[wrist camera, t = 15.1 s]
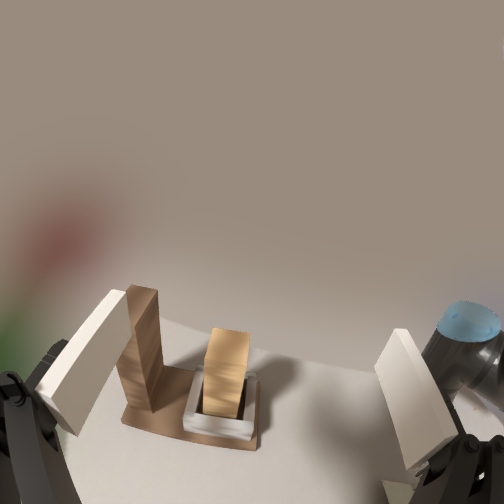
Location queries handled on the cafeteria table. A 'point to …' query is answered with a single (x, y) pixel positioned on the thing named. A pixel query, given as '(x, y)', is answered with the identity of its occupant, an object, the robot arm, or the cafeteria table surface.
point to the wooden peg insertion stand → (175, 387)
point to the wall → (398, 492)
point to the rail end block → (224, 372)
